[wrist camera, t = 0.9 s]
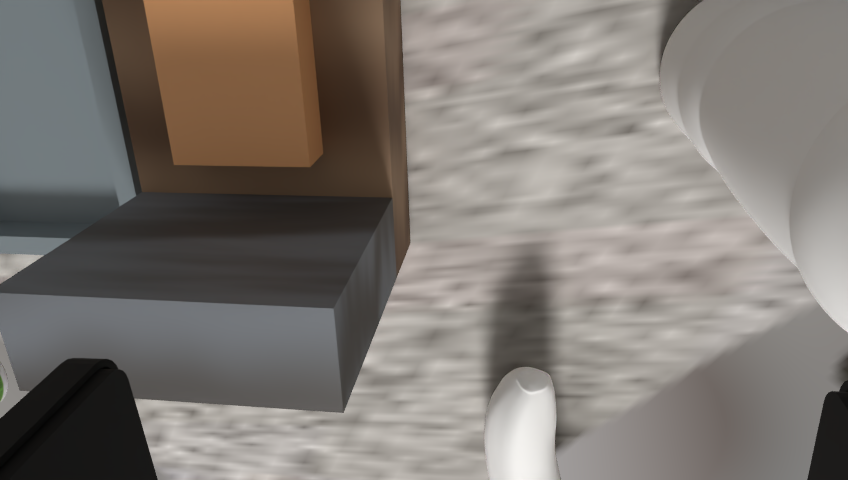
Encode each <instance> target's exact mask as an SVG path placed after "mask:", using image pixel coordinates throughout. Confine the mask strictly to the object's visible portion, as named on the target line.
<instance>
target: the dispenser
mask: <svg viewBox="0 0 848 480" xmlns="http://www.w3.org/2000/svg"><path fill="white" fill-rule="evenodd" d="M102 3H103V8H104V12H105V17H106V22H107V27H108V31H109V36H110V41H111V46H112V51H113V55H114V60H115V65H116V70H117V74H118V79H119V84H120V89H121V94H122V98H123V103H124V108H125V113H126V117H127V122H128V127H129V132H130V137H131V141H132V146H133V151H134V156H135V160H136V165H137V170H138V175H139V180H140V184H141V189H142V192H141V193H140V194H138V195H137V196H135V197H134V198H132V199H131V200H129V201H128V202H126V203H124V204H123V205H121V206H120V207H118V208H117V209H115V210H114V211H112V212H111V213H109V214H108V215H106V216H104V217H103V218H101V219H100V220H98V221H97V222H95V223H94V224H92V225H91V226H89V227H88V228H86V229H84V230H83V231H81V232H80V233H78V234H77V235H75V236H74V237H72V238H71V239H69V240H68V241H66V242H64V243H63V244H61V245H60V246H58V247H57V248H55V249H54V250H52V251H51V252H49V253H48V254H46V255H44V256H43V257H41V258H40V259H38V260H37V261H35V262H34V263H32V264H31V265H29V266H28V267H26V268H24V269H23V270H21V271H20V272H18V273H17V274H15V275H14V276H12V277H11V278H9V279H8V280H6V281H4V282H3V283H1V284H0V332H1V335H2V338H3V341H4V344H5V347H6V350H7V353H8V356H9V359H10V362H11V365H12V368H13V371H14V374H15V377H16V380H17V383H18V387H19V390H21V391H31V390H32V389H33V388H34V387H36V386H37V385H38V384H39V383H40V382H41V381H42V380H43V379H44V378H45V377H47V376H48V375H49V374H50V373H51V372H52V371H53V370H54V369H55V368H57V367H58V366H59V365H60V364H61V363H62V362H64V361H65V360H67V359H71V358H94V359H109V360H112V361H113V362H114V363H115V364H116V365H117V367H118V369H120V370H123V371H124V372H125V373H126V375H127V377H128V379H129V383H130V386H131V390H132V393H133V397H134V398H136V399H151V400H165V401H180V402H194V403H209V404H223V405H238V406H252V407H267V408H281V409H296V410H310V411H325V412H339V413H344V410H345V408H346V405H347V402H348V400H349V397H350V395H351V392H352V390H353V387H354V385H355V382H356V380H357V377H358V375H359V372H360V369H361V367H362V364H363V362H364V359H365V357H366V354H367V352H368V349H369V347H370V344H371V341H372V339H373V336H374V334H375V331H376V329H377V326H378V324H379V321H380V319H381V316H382V314H383V311H384V308H385V306H386V303H387V301H388V298H389V296H390V293H391V291H392V288H393V286H394V283H395V281H396V278H397V275H398V273H399V270H400V268H401V265H402V263H403V260H404V258H405V255H406V253H407V250H408V247H409V245H410V225H409V200H408V176H407V151H406V126H405V102H404V77H403V53H402V28H401V3H400V0H309V3H310V14H311V24H312V35H313V46H314V57H315V68H316V79H317V90H318V100H319V111H320V122H321V133H322V144H323V154H322V155H321V156H320V157H319V158H318V159H317V161H316V162H315V163H314V164H313V165H312V166H311V167H263V166H202V165H174V163H173V157H172V152H171V146H170V141H169V136H168V130H167V125H166V120H165V114H164V109H163V103H162V98H161V93H160V87H159V82H158V77H157V71H156V66H155V60H154V55H153V50H152V44H151V39H150V34H149V28H148V23H147V17H146V12H145V7H144V1H143V0H102Z"/></svg>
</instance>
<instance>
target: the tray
mask: <svg viewBox="0 0 848 480" xmlns="http://www.w3.org/2000/svg"><path fill="white" fill-rule="evenodd" d="M141 192H142V189H141V184H140V180H139V175H138V170H137V165H136V160H135V156H134V151H133V146H132V141H131V137H130V132H129V127H128V122H127V117H126V113H125V108H124V103H123V98H122V94H121V89H120V84H119V79H118V74H117V70H116V65H115V60H114V55H113V51H112V46H111V41H110V36H109V31H108V27H107V22H106V17H105V12H104V8H103V3H102V0H0V253H5V254H31V255H46V254H48V253H49V252H51V251H52V250H54V249H55V248H57V247H58V246H60V245H61V244H63V243H64V242H66V241H68V240H69V239H71V238H72V237H74V236H75V235H77V234H78V233H80V232H81V231H83V230H84V229H86V228H88V227H89V226H91V225H92V224H94V223H95V222H97V221H98V220H100V219H101V218H103V217H104V216H106V215H108V214H109V213H111V212H112V211H114V210H115V209H117V208H118V207H120V206H121V205H123V204H124V203H126V202H128V201H129V200H131V199H132V198H134V197H135V196H137V195H138V194H140V193H141Z"/></svg>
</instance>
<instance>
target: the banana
mask: <svg viewBox="0 0 848 480" xmlns="http://www.w3.org/2000/svg"><path fill="white" fill-rule="evenodd" d="M556 422H557V414H556V400H555V390H554V386H553V383H552V379H551V377H550V375H549V374H548V373H546V372H544V371H542V370H539V369H536V368H532V367H520V368H516V369H514V370H512V371H511V372H509V373H508V374H507V375H506V376H504V378H503V379H502V380H501V382H500V383H499V385H498V386H497V388H496V389H495V391H494V393H493V394H492V396H491V399H490V402H489V404H488V408H487V412H486V418H485V428H484V441H485V454H486V464H487V471H488V476H489V480H561V478H560V474H559V470H558V465H557V460H556V453H555V431H556Z"/></svg>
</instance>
